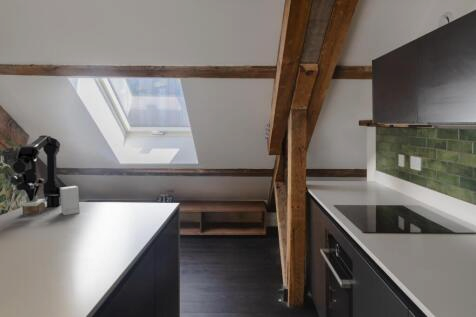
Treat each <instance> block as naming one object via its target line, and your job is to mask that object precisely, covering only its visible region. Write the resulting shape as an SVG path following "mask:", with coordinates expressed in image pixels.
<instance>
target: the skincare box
mask: <svg viewBox="0 0 476 317" xmlns="http://www.w3.org/2000/svg"><path fill="white" fill-rule="evenodd" d="M79 194H80V193H79V187H78V186H77V185H70V186H64V187H63V186H62V187H60V196H61V206H60V207H61V213H62V214H63V215H64V216H65V215H67V216H68V215H74V214H80V213H81V210H80V197H79V196H80V195H79Z"/></svg>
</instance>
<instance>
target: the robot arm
mask: <svg viewBox="0 0 476 317" xmlns="http://www.w3.org/2000/svg"><path fill="white" fill-rule="evenodd" d="M60 148H61V142H60V141H58V139H56V138H54V137H52V136H50V135H49V134H48V135H39V136H38V138H37V139H35V140H34V141H33V142H32V143H29V144H25V145H22V146H21V147H20V148H19V151H18V154H17V156H16V162H15V163H13V165H12V169H13V171H14V173H17V174H21V176H16V175H15V176H12V177H10V180H9V181H10V184H12V186H15V187H16V190H17V191H24V192H25V193H26V196H28V198H29V200H30V201H32V200H33V197H34V196H38V195H37V194H38V193H39V191H40V188H41V185H43V190H42V191H43V196H44V198H46V208H60V207H61V196H60V188H61V184H60V182H59V180H58V178H57V155H58V153H59V152H60ZM42 149H43V152H44V153H45V155H46V180H45V179H44V178H43V177H42V178H41V177H38V174H39V171H38V168H37V167H38V166H37V165H38V164H37V161H38V158H37V157H38V156H39V154H40V150H42ZM39 184H41V185H39Z"/></svg>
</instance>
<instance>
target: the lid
mask: <svg viewBox="0 0 476 317" xmlns="http://www.w3.org/2000/svg"><path fill="white" fill-rule="evenodd" d="M41 202H46V201H45V198H39V195H36V196H34V197H33V200H32V201H30V200H29V198H28V195H26V196H25V200H24V201H23V200H22V201H21V202H19V203H18V206H37V205H39V204H40V203H41Z"/></svg>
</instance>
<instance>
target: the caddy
mask: <svg viewBox="0 0 476 317" xmlns="http://www.w3.org/2000/svg"><path fill="white" fill-rule="evenodd" d="M45 202H46V201H43V202H41V203H40V204H39V205H37V206H24V205H21V206H22V216H26V215H40V214H41V213H43V212H46V203H45Z"/></svg>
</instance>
